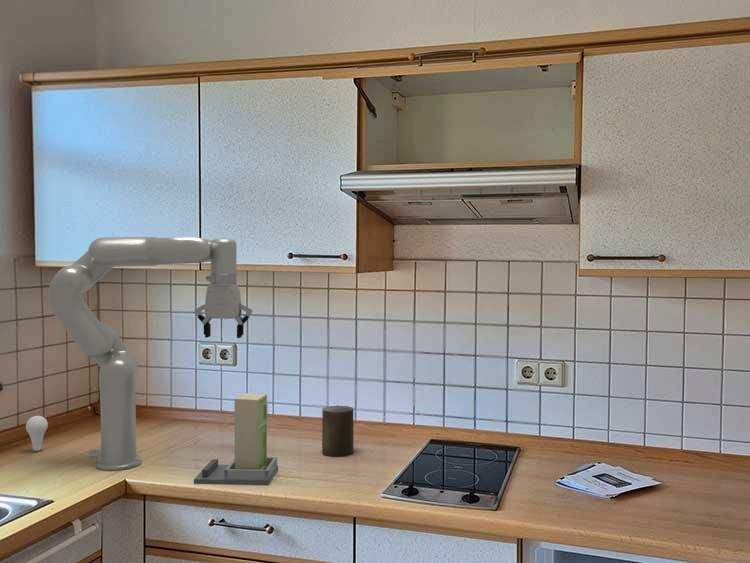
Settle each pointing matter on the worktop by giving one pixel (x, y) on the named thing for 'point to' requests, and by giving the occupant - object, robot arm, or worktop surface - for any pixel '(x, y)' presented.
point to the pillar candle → (337, 431)
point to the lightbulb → (36, 430)
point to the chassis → (236, 474)
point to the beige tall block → (251, 431)
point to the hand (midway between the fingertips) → (223, 337)
